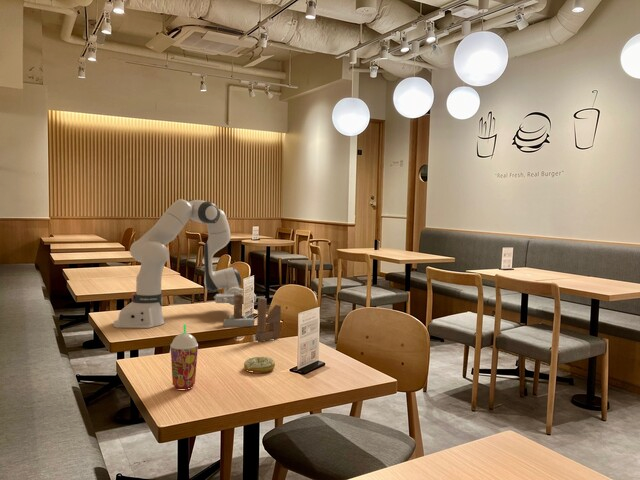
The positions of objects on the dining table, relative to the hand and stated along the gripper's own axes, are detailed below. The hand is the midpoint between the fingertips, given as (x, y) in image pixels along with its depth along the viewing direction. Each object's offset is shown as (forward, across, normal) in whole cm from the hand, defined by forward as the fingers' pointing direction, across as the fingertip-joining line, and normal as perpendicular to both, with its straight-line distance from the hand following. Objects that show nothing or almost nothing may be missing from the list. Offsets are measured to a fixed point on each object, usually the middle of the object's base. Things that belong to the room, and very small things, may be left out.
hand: (237, 301), depth 260 cm
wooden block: (+37, +9, +10) cm, 39 cm away
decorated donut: (+77, -1, +10) cm, 77 cm away
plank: (+6, 0, +10) cm, 11 cm away
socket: (+8, 0, +10) cm, 12 cm away
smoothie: (+91, -27, +10) cm, 95 cm away
